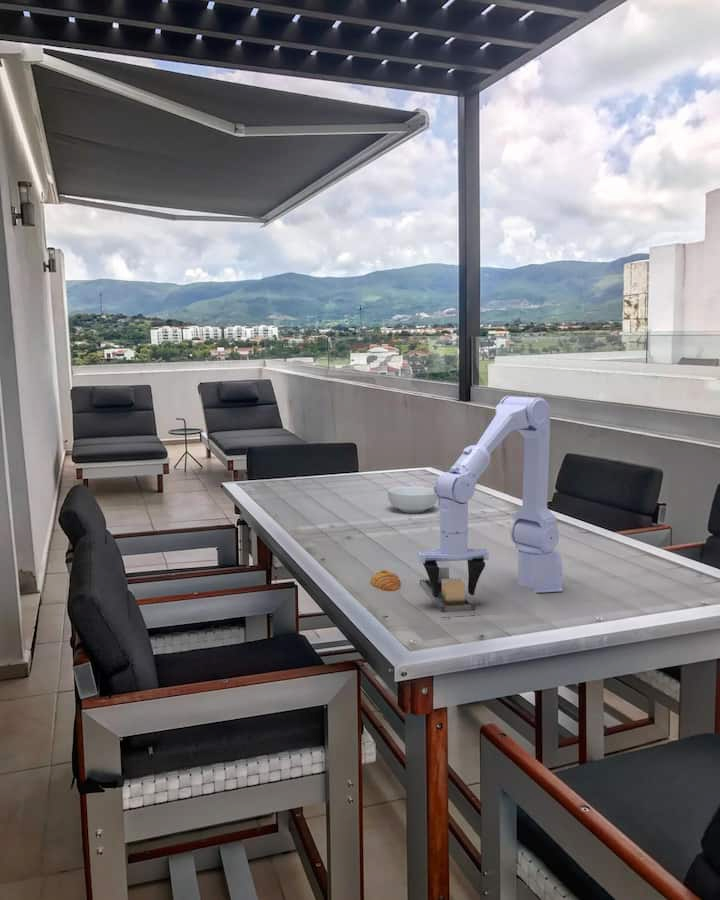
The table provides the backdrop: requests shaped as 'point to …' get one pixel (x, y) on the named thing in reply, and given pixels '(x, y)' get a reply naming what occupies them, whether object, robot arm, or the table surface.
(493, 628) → the table surface
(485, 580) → the table surface
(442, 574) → the steel block
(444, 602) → the wooden block with cap
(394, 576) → the pastry
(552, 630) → the table surface
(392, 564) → the table surface
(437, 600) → the tray
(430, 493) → the cereal bowl
